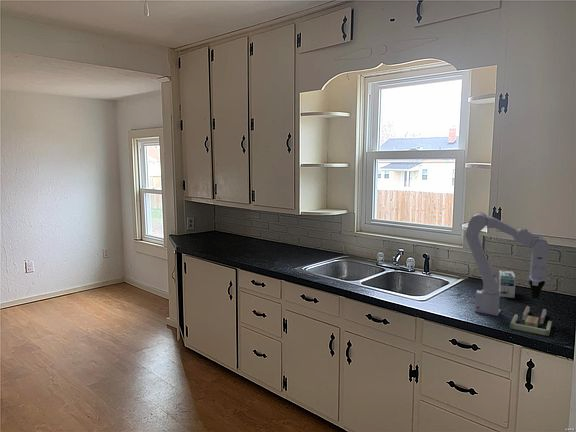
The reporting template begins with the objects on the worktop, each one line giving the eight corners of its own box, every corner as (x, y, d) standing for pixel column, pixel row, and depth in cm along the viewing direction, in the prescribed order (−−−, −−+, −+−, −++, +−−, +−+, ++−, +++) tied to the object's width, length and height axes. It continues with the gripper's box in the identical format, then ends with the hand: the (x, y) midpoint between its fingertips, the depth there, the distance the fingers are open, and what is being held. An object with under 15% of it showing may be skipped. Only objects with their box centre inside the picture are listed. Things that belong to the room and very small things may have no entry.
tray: (509, 328, 172) (510, 323, 172) (514, 318, 182) (514, 314, 181) (548, 336, 165) (549, 331, 164) (551, 326, 174) (551, 321, 174)
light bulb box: (514, 298, 207) (516, 276, 205) (499, 296, 209) (500, 275, 208) (512, 291, 217) (513, 271, 215) (497, 290, 219) (498, 269, 218)
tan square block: (525, 325, 175) (526, 318, 175) (527, 322, 178) (527, 315, 178) (537, 327, 173) (537, 320, 173) (538, 324, 176) (538, 317, 176)
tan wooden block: (524, 328, 172) (524, 321, 172) (525, 325, 175) (526, 318, 175) (535, 331, 170) (536, 323, 169) (536, 327, 173) (537, 320, 173)
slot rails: (522, 319, 180) (522, 314, 180) (526, 311, 190) (526, 305, 190) (543, 324, 176) (543, 318, 176) (545, 314, 186) (546, 309, 185)
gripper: (547, 272, 171) (544, 304, 173) (550, 264, 182) (548, 295, 184) (527, 269, 175) (525, 301, 177) (532, 261, 187) (529, 291, 189)
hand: (535, 297), depth 181 cm, fingers closed
